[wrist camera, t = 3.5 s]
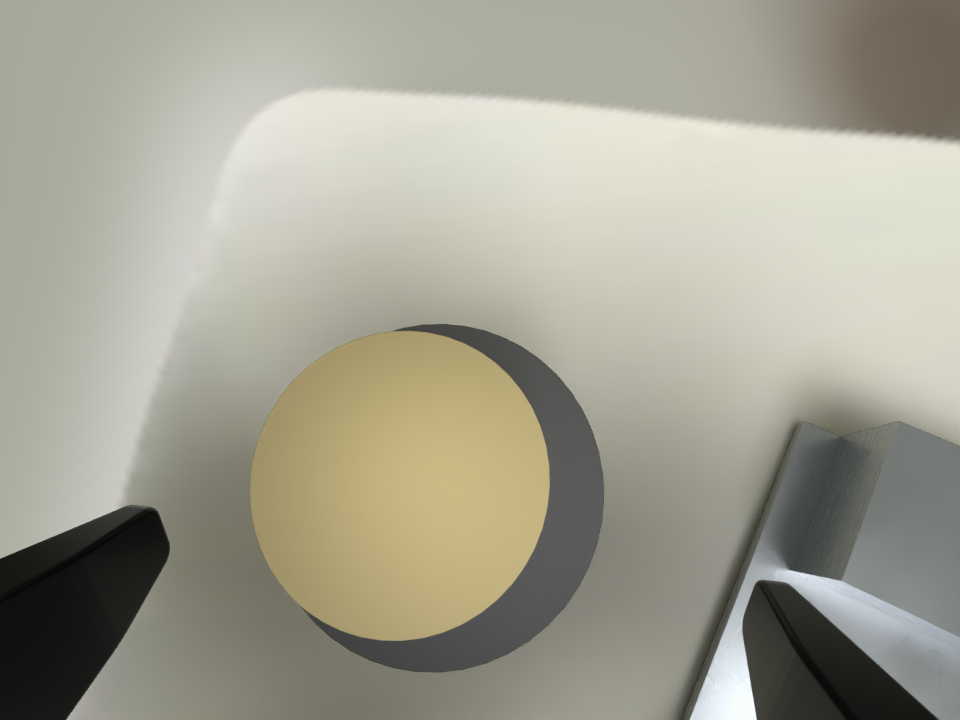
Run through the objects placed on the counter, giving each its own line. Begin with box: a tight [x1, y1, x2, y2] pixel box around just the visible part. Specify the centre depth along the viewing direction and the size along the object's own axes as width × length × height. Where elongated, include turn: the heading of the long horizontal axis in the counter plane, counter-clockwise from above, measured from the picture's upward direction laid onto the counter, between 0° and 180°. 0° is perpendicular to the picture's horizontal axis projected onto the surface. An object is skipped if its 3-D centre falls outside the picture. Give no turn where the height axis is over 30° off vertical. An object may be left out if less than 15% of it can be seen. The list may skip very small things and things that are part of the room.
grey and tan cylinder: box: [250, 324, 604, 672], centre depth 12 cm, size 4×4×13 cm
